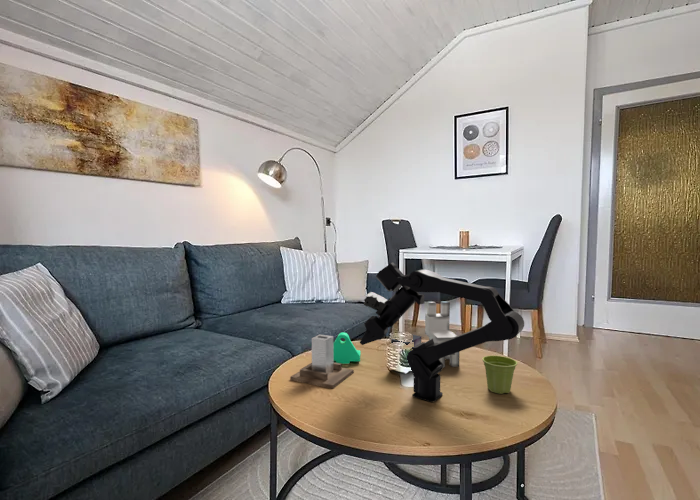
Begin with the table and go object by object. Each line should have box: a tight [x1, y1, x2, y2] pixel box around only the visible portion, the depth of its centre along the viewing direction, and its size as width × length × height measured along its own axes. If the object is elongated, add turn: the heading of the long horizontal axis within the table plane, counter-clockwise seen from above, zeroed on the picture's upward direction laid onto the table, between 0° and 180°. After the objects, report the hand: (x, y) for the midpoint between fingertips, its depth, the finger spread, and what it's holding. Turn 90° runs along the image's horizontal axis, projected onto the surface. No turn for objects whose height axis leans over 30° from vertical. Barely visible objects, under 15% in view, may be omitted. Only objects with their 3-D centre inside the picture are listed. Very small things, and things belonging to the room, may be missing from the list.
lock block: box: [311, 334, 334, 375], centre depth 121 cm, size 5×5×12 cm
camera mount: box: [333, 331, 362, 365], centre depth 137 cm, size 12×8×10 cm, turn 87°
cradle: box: [289, 361, 355, 390], centre depth 122 cm, size 15×14×3 cm
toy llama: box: [424, 300, 461, 368], centre depth 136 cm, size 8×18×20 cm, turn 5°
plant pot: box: [481, 354, 518, 395], centre depth 111 cm, size 9×9×9 cm
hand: (366, 338), depth 116 cm, fingers open, 9 cm apart
